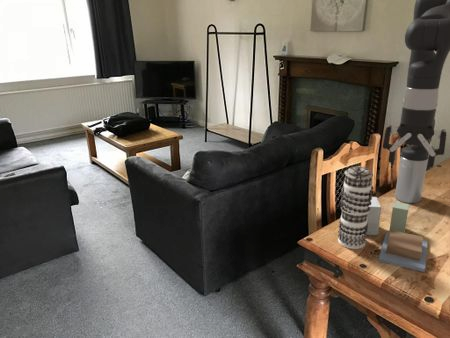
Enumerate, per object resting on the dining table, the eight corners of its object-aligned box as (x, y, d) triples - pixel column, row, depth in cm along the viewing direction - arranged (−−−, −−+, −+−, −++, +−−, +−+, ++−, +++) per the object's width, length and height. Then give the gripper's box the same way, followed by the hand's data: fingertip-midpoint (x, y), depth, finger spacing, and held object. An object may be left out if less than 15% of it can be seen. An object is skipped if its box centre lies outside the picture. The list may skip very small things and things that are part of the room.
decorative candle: (373, 243, 115) (382, 169, 106) (353, 253, 110) (361, 177, 101) (350, 231, 122) (357, 161, 113) (330, 239, 118) (336, 168, 109)
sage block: (390, 225, 125) (394, 201, 122) (405, 228, 123) (409, 204, 119) (389, 231, 121) (392, 207, 118) (404, 234, 119) (408, 210, 116)
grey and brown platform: (385, 234, 119) (387, 224, 118) (427, 243, 114) (429, 232, 112) (378, 260, 106) (380, 249, 105) (424, 272, 101) (427, 260, 99)
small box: (378, 236, 119) (381, 207, 115) (360, 234, 120) (363, 206, 116) (373, 223, 126) (377, 196, 122) (356, 222, 127) (359, 195, 123)
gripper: (452, 104, 90) (440, 165, 96) (390, 101, 97) (382, 158, 103) (452, 110, 84) (440, 175, 90) (386, 106, 91) (379, 167, 97)
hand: (409, 166), depth 96 cm, fingers open, 8 cm apart
